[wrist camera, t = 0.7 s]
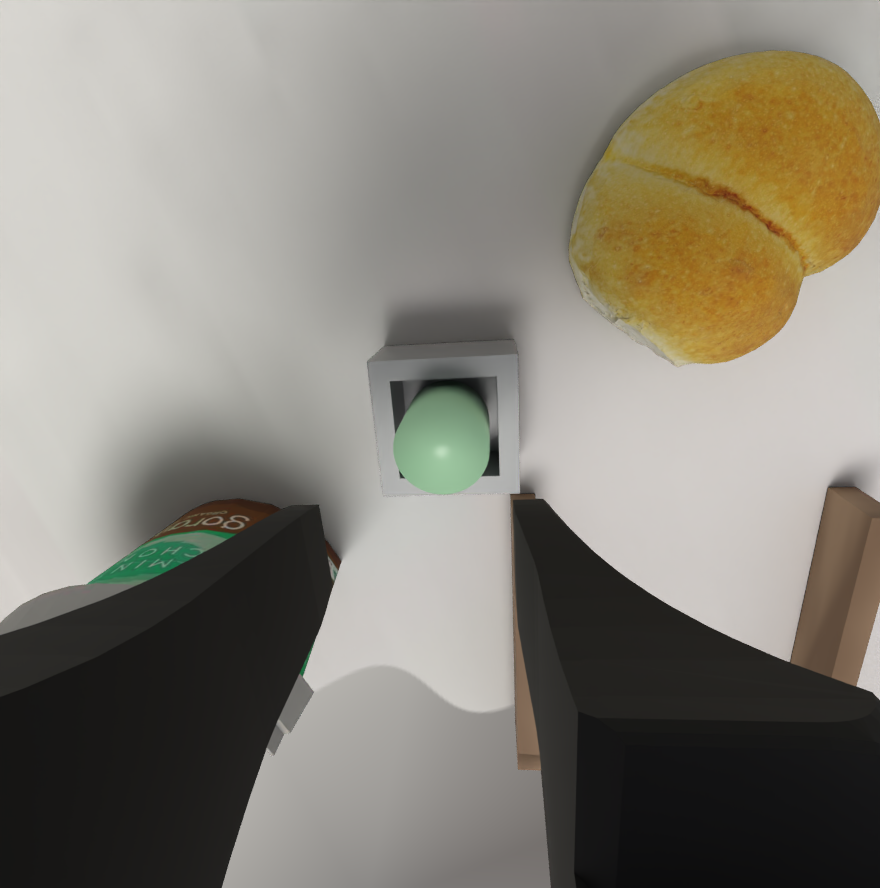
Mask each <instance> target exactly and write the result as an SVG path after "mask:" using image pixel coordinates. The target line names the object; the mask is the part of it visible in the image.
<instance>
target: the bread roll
mask: <svg viewBox="0 0 880 888" xmlns="http://www.w3.org/2000/svg"><path fill="white" fill-rule="evenodd" d="M879 205H880V122H879V119H878V117H877V114H876V112H875V110H874V107H873V105H872V103H871V102H870V100H869V98H868V97H867V95H866V94H865V92H864V91H863V89H862V88H861V87H860V86H859V85H858V83H857V82H856V81H855V80H854V79H853V78H852V77H851V76H850V75H849V74H848V73H847V72H846V71H845V70H843V69H842V68H840V67H839V66H838V65H836V64H834V63H832V62H830V61H828V60H825V59H823V58H821V57H818V56H815V55H810V54H806V53H800V52H794V51H776V50H770V51H764V52H753V53H745V54H741V55H735V56H731V57H727V58H724V59H721V60H718V61H715V62H712V63H709V64H706V65H704V66H702V67H699V68H697V69H695V70H692V71H690V72H689V73H687V74H685V75H683V76H681V77H679V78H678V79H676V80H674V81H673V82H671V83H670V84H668V85H667V86H666V87H664V88H662V89H660V90H659V91H657V92H656V93H655V94H653V95H652V96H651V97H650V98H649V99H647V100H646V101H645V102H644V103H643V104H641V105H640V106H639V107H638V108H637V109H636V110H635V111H634V112H633V113H632V114H631V115H630V116H629V117H628V118H627V119H626V120H625V121H624V123H623V124H622V125H621V126H620V128H619V129H618V130H617V132H616V133H615V135H614V136H613V138H612V140H611V142H610V144H609V146H608V147H607V149H606V151H605V153H604V155H603V157H602V158H601V160H600V161H599V162H598V164H597V166H596V168H595V169H594V171H593V173H592V175H591V176H590V178H589V179H588V181H587V182H586V184H585V187H584V189H583V191H582V193H581V196H580V198H579V201H578V205H577V208H576V212H575V215H574V219H573V222H572V227H571V236H570V243H569V249H568V250H569V262H570V264H571V267H572V270H573V273H574V276H575V279H576V282H577V284H578V286H579V288H580V292H581V295H582V297H583V299H584V300H585V301H586V302H588V303H589V304H590V305H591V306H592V307H593V308H594V309H595V310H597V311H598V312H599V313H600V314H601V315H602V316H604V317H605V318H606V319H607V320H608V321H609V322H611V323H612V324H613V325H614V326H616V327H617V328H619V329H620V330H622V331H624V332H625V333H627V334H628V336H629V337H630V338H631V339H632V340H635V341H636V342H637V343H639V344H641V345H645V346H647V347H649V348H650V349H652V350H653V352H654V353H655V354H656V355H657V356H660V357H662V358H664V359H666V360H668V361H669V362H670V363H671V364H673V365H674V366H676V367H680V366H683V365H686V364H692V363H701V364H714V363H721V362H727V361H730V360H733V359H736V358H738V357H741V356H743V355H745V354H747V353H749V352H751V351H753V350H755V349H757V348H758V347H760V346H761V345H763V344H764V343H766V342H767V341H768V340H770V339H771V338H772V337H774V336H775V335H776V334H777V333H778V332H779V331H780V330H781V329H782V328H783V327H784V325H785V324H786V322H787V321H788V319H789V318H790V316H791V314H792V311H793V309H794V307H795V305H796V303H797V298H798V294H799V291H800V286H801V284H802V281H803V278H804V277H805V276H809V275H811V274H815V273H818V272H821V271H823V270H824V269H826V268H828V267H830V266H832V265H834V264H835V263H836V262H838V261H839V260H841V259H842V258H843V257H845V256H846V255H848V254H849V253H850V252H851V251H852V250H853V249H854V248H855V247H856V246H857V245H858V244H859V243H860V241H861V240H862V238H863V237H864V235H865V234H866V232H867V231H868V229H869V228H870V226H871V224H872V222H873V221H874V219H875V216H876V213H877V210H878V208H879Z"/></svg>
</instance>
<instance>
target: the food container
mask: <svg viewBox="0 0 880 888" xmlns="http://www.w3.org/2000/svg"><path fill="white" fill-rule="evenodd" d="M280 510H282V509H280V508H278V507H276V506H274V505H271V504H266V503H261V502H256V501H250V500H245V499H228V500H216V501H213V502H209V503H206V504H203V505H201V506H199V507H197V508H195V509H193V510H191V511H189V512H188V513H186V514H185V515H184V516H182V517H181V518H179V519H178V520H177V521H175V522H174V523H172V524H171V525H169V526H168V527H167V528H165V529H164V530H162V531H161V532H160V533H158V534H157V535H155V536H154V537H153V538H151V539H150V540H148V541H147V542H145V543H144V544H143V545H141V546H140V547H138V548H137V549H136V550H134V551H133V552H131V553H130V554H129V555H127V556H126V557H124V558H123V559H121V560H120V561H119V562H117V563H116V564H114V565H113V566H112V567H110V568H109V569H107V570H106V571H105V572H103V573H102V574H100V575H99V576H98V577H96V578H95V579H93V580H92V581H90V582H89V583H88V584H86V585H77V586H68V587H65V588H61V589H58V590H54V591H51V592H47V593H44V594H42V595H40V596H38V597H36V598H34V599H32V600H30V601H28V602H26V603H24V604H22V605H20V606H19V607H18V608H17V609H16V610H14V611H13V612H12V613H11V614H10V615H8V616H7V617H6V618H5V619H4V620H3V621H2V622H1V623H0V635H2V634H5V633H8V632H12V631H15V630H18V629H21V628H24V627H28V626H31V625H34V624H37V623H40V622H43V621H45V620H48V619H51V618H54V617H56V616H59V615H62V614H65V613H67V612H70V611H73V610H76V609H78V608H81V607H84V606H87V605H89V604H92V603H95V602H98V601H100V600H103V599H105V598H108V597H110V596H113V595H115V594H117V593H120V592H122V591H124V590H127V589H129V588H131V587H134V586H136V585H138V584H141V583H143V582H145V581H147V580H149V579H152V578H154V577H156V576H158V575H160V574H162V573H164V572H166V571H168V570H170V569H172V568H174V567H176V566H178V565H180V564H182V563H184V562H186V561H188V560H190V559H192V558H193V557H195V556H197V555H199V554H201V553H203V552H205V551H207V550H209V549H211V548H213V547H214V546H216V545H218V544H220V543H222V542H223V541H225V540H227V539H229V538H230V537H232V536H234V535H236V534H238V533H239V532H241V531H243V530H245V529H246V528H248V527H250V526H252V525H254V524H255V523H257V522H259V521H261V520H262V519H264V518H266V517H268V516H270V515H272V514H274V513H276V512H278V511H280ZM325 543H326V549H327V555H328V561H329V566H330V572H331V578H332V583H333V585H334V582H335V579H336V576H337V573H338V570H339V567H340V564H341V560H340V559H339V557H338V556H337V554H336V553H335V551H334V550H333V548H332V547H331V546H330V544H329V543H328V541H326V540H325ZM332 588H333V587H332ZM331 591H332V590H331ZM314 642H315V641H314ZM313 645H314V643H313ZM313 645H312V647H311V650H310V652H309V654H308V656H307V659H306V661H305V663H304V665H303V667H302V669H301V672H300V674H299V676H298V678H297V680H296V682H295V685H294V687H293V689H292V691H291V693H290V695H289V698H288V700H287V702H286V704H285V706H284V708H283V711H282V713H281V715H280V717H279V719H278V721H277V724H276V726H275V729H274V731H273V733H272V736H271V738H270V741H269V743H268V746H267V748H266V750H267V752H268V753H269V754H270V755H271V756H274V755H275V752H276V750H277V748H278V746H279V744H280V742H281V740H282V737H283V735H284V734H289V733H290V732H291V731H292V729H293V728H294V726H295V724H296V722H297V721H298V719H299V717H300V716H301V714H302V712H303V710H304V708H305V707H306V705H307V703H308V702H309V700H310V698H311V697H312V695H313V693H314V691H313V690H312V689H311V688H310V686H309V685H308V684H307V682H306V681H305V680H304V678H303V674H304V671H305V669H306V666H307V663H308V660H309V657H310V654H311V651H312V648H313Z"/></svg>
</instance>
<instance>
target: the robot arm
mask: <svg viewBox="0 0 880 888" xmlns="http://www.w3.org/2000/svg"><path fill="white" fill-rule="evenodd" d="M513 527H514V563H515V590H516V606H517V621H518V630H519V636H520V642H521V647H522V653H523V658H524V664H525V670H526V675H527V681H528V686H529V692H530V697H531V703H532V708H533V714H534V719H535V725H536V731H537V738H538V746H539V753H540V764H541V775H542V787H543V798H544V810H545V822H546V833H547V845H548V858H549V869H550V880H551V888H880V700H879V699H878V698H877V697H876V696H875V695H874V694H873V693H872V692H870V691H867V690H864V689H861V688H859V687H856V686H853V685H850V684H848V683H845V682H842V681H839V680H837V679H834V678H831V677H828V676H825V675H823V674H820V673H817V672H814V671H812V670H809V669H806V668H803V667H801V666H798V665H795V664H792V663H790V662H787V661H784V660H782V659H779V658H777V657H774V656H772V655H770V654H767V653H765V652H763V651H761V650H758V649H756V648H754V647H751V646H749V645H747V644H744V643H742V642H740V641H738V640H735V639H733V638H731V637H729V636H727V635H725V634H723V633H721V632H719V631H716V630H714V629H712V628H710V627H708V626H706V625H704V624H702V623H701V622H699V621H697V620H695V619H693V618H691V617H689V616H688V615H686V614H684V613H682V612H680V611H678V610H677V609H675V608H673V607H671V606H669V605H668V604H666V603H664V602H663V601H661V600H659V599H658V598H656V597H655V596H653V595H651V594H650V593H648V592H647V591H645V590H644V589H643V588H641V587H640V586H638V585H637V584H635V583H634V582H632V581H631V580H629V579H628V578H626V577H625V576H624V575H622V574H621V573H619V572H618V571H617V570H615V569H614V568H613V567H612V566H611V565H609V564H608V563H607V562H606V561H604V560H603V559H602V558H601V557H600V556H598V555H597V554H596V553H595V552H594V551H593V550H591V549H590V548H589V547H588V546H587V545H586V544H585V543H584V542H583V541H582V540H581V539H580V538H579V537H578V536H577V535H576V534H575V533H574V532H573V531H572V530H571V529H570V528H569V527H568V526H567V525H566V524H565V523H564V521H563V520H562V519H561V518H560V517H559V516H558V515H557V514H556V513H555V511H554V510H553V509H552V508H551V507H550V506H549V504H548V503H547V502H546V501H544V500H543V499H524V500H513ZM332 587H333V583H332V578H331V572H330V566H329V561H328V555H327V549H326V543H325V538H324V532H323V526H322V521H321V515H320V509H319V505H294V506H289V507H287V508H284V509H282V510H280V511H278V512H276V513H274V514H272V515H270V516H268V517H266V518H264V519H262V520H261V521H259V522H257V523H255V524H254V525H252V526H250V527H248V528H246V529H245V530H243V531H241V532H239V533H238V534H236V535H234V536H232V537H230V538H229V539H227V540H225V541H223V542H222V543H220V544H218V545H216V546H214V547H213V548H211V549H209V550H207V551H205V552H203V553H201V554H199V555H197V556H195V557H193V558H192V559H190V560H188V561H186V562H184V563H182V564H180V565H178V566H176V567H174V568H172V569H170V570H168V571H166V572H164V573H162V574H160V575H158V576H156V577H154V578H152V579H149V580H147V581H145V582H143V583H141V584H138V585H136V586H134V587H131V588H129V589H127V590H124V591H122V592H120V593H117V594H115V595H113V596H110V597H108V598H105V599H103V600H100V601H98V602H95V603H92V604H89V605H87V606H84V607H81V608H78V609H76V610H73V611H70V612H67V613H65V614H62V615H59V616H56V617H54V618H51V619H48V620H45V621H43V622H40V623H37V624H34V625H31V626H28V627H24V628H21V629H18V630H15V631H12V632H8V633H5V634H2V635H0V888H222V885H223V881H224V878H225V874H226V871H227V867H228V864H229V860H230V857H231V854H232V851H233V848H234V845H235V842H236V839H237V835H238V832H239V829H240V826H241V822H242V820H243V816H244V813H245V810H246V807H247V804H248V801H249V798H250V794H251V792H252V789H253V786H254V783H255V780H256V777H257V775H258V772H259V769H260V766H261V762H262V760H263V757H264V754H265V751H266V748H267V746H268V743H269V741H270V738H271V736H272V733H273V731H274V729H275V726H276V724H277V721H278V719H279V717H280V715H281V713H282V711H283V708H284V706H285V704H286V702H287V700H288V698H289V695H290V693H291V691H292V689H293V687H294V685H295V682H296V680H297V678H298V676H299V674H300V672H301V669H302V667H303V665H304V663H305V661H306V659H307V656H308V654H309V652H310V650H311V647H312V645H313V643H314V641H315V639H316V636H317V634H318V632H319V629H320V627H321V624H322V621H323V618H324V615H325V612H326V608H327V605H328V601H329V598H330V594H331V590H332Z"/></svg>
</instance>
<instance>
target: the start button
mask: <svg viewBox="0 0 880 888" xmlns="http://www.w3.org/2000/svg"><path fill="white" fill-rule="evenodd" d="M489 452H490V419H489V412H488V408H487V406H486V404H485V402H484V400H483V399H482V397H481V396H480V395H479V394H478V393H477V392H476V391H475V390H474V389H472V388H471V387H469V386H468V385H465V384H463V383H460V382H457V381H439V382H435V383H432V384H430V385H428V386H426V387H424V388H423V389H422V390H420V391H419V392H418V393H417V394H416V396H415V397H414V398H413V400H412V402H411V404H410V406H409V408H408V410H407V412H406V414H405V415H404V417H403V419H402V421H401V423H400V425H399V427H398V429H397V431H396V434H395V437H394V442H393V454H394V459H395V462H396V465H397V467H398V469H399V470H400V472H401V474H402V475H403V476H404V477H405V478H406V479H407V480H408V481H409V482H410V483H411V484H412V485H414V486H415V487H417V488H419V489H421V490H423V491H425V492H429V493H433V494H442V495H445V494H453V493H457V492H460V491H463V490H465V489H467V488H469V487H470V486H472V485H473V484H474V483H475V482H476V481H477V480H478V479H479V478H480V477H481V476H482V474H483V473H484V471H485V469H486V467H487V464H488V460H489Z"/></svg>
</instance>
